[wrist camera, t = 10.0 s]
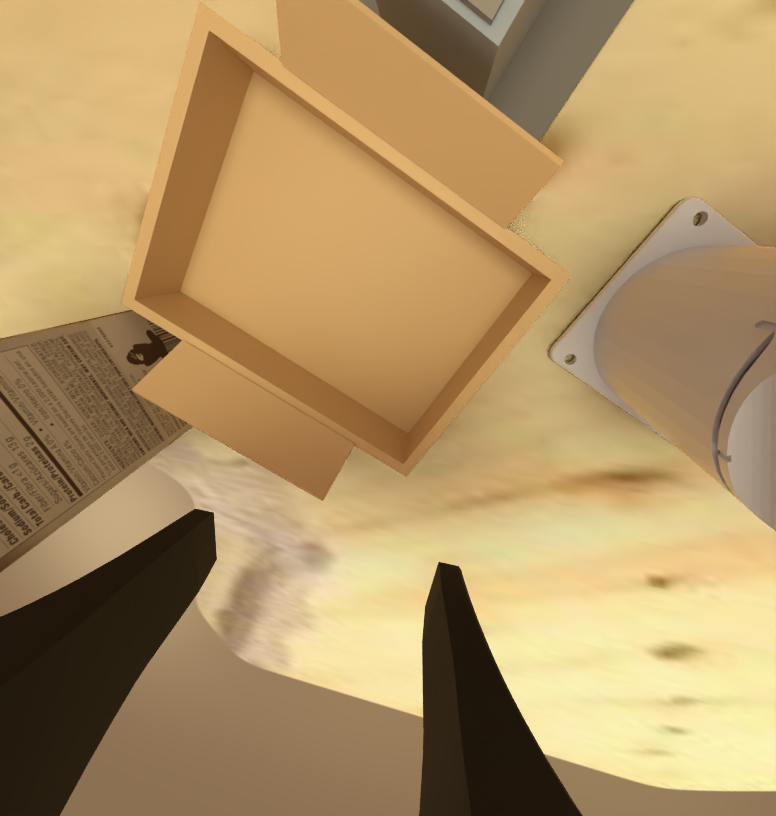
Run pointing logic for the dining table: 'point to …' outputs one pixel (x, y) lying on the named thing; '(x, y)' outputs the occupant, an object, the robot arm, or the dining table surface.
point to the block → (465, 34)
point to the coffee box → (75, 420)
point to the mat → (551, 59)
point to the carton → (333, 243)
